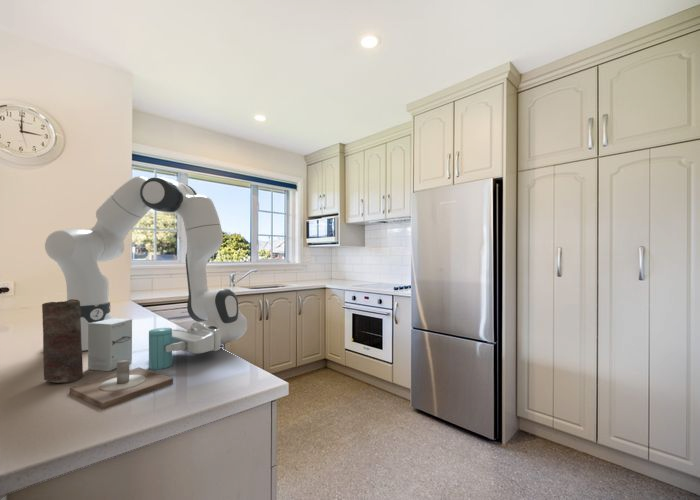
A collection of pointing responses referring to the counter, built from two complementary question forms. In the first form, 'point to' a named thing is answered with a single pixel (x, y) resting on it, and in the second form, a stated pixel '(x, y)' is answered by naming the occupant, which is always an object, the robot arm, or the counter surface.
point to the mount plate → (120, 385)
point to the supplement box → (109, 343)
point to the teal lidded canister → (159, 348)
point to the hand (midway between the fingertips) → (157, 346)
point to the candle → (62, 341)
